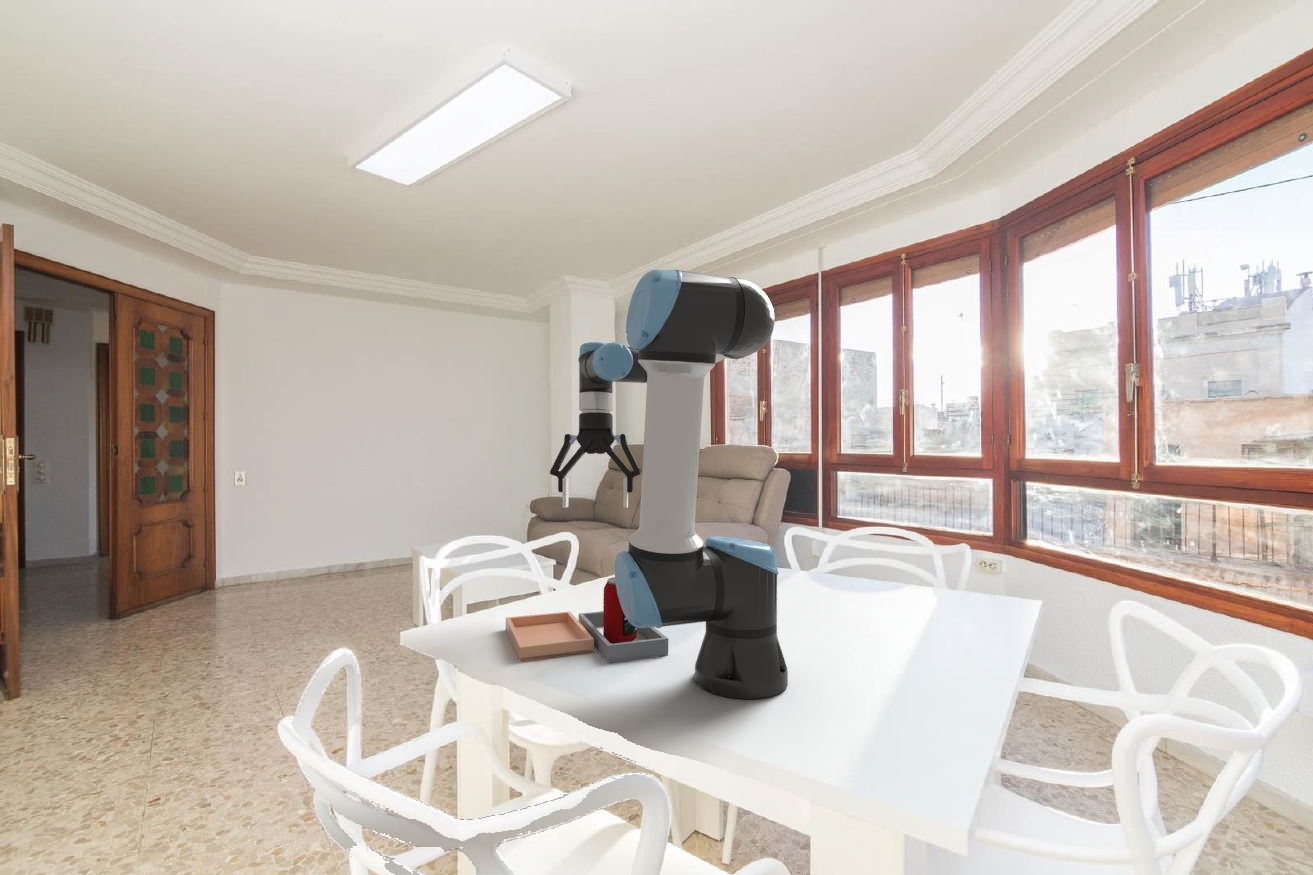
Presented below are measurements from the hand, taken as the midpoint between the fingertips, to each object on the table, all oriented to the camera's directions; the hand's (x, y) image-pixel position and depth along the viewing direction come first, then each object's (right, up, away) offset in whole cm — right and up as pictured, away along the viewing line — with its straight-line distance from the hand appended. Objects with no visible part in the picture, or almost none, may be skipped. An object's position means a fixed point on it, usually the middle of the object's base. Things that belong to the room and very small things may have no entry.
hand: (595, 507), depth 135 cm
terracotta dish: (-8, -24, -16) cm, 30 cm away
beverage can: (+7, -25, -16) cm, 30 cm away
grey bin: (+7, -24, -16) cm, 30 cm away
